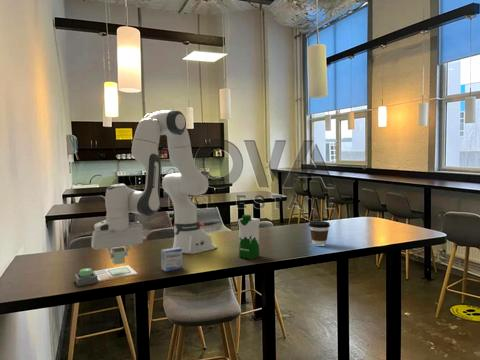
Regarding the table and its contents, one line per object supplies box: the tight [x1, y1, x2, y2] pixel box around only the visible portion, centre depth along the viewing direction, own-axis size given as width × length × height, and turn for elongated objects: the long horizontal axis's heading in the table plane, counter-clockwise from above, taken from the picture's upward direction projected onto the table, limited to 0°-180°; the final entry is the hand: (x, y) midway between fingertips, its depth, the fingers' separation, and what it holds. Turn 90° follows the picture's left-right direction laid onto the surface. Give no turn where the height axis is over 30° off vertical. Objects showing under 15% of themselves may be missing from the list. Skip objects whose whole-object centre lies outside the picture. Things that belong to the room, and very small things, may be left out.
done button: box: [79, 267, 93, 278], centre depth 143 cm, size 4×4×3 cm
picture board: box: [93, 264, 138, 283], centre depth 152 cm, size 15×13×1 cm
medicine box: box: [160, 247, 183, 272], centre depth 157 cm, size 8×4×9 cm, turn 126°
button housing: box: [74, 270, 99, 287], centre depth 143 cm, size 7×7×2 cm
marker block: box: [111, 246, 126, 265], centre depth 152 cm, size 4×4×6 cm
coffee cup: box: [308, 220, 331, 245], centre depth 193 cm, size 11×11×12 cm
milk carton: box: [237, 214, 261, 260], centre depth 173 cm, size 9×9×20 cm
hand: (118, 257), depth 152 cm, fingers closed on marker block, 4 cm apart
